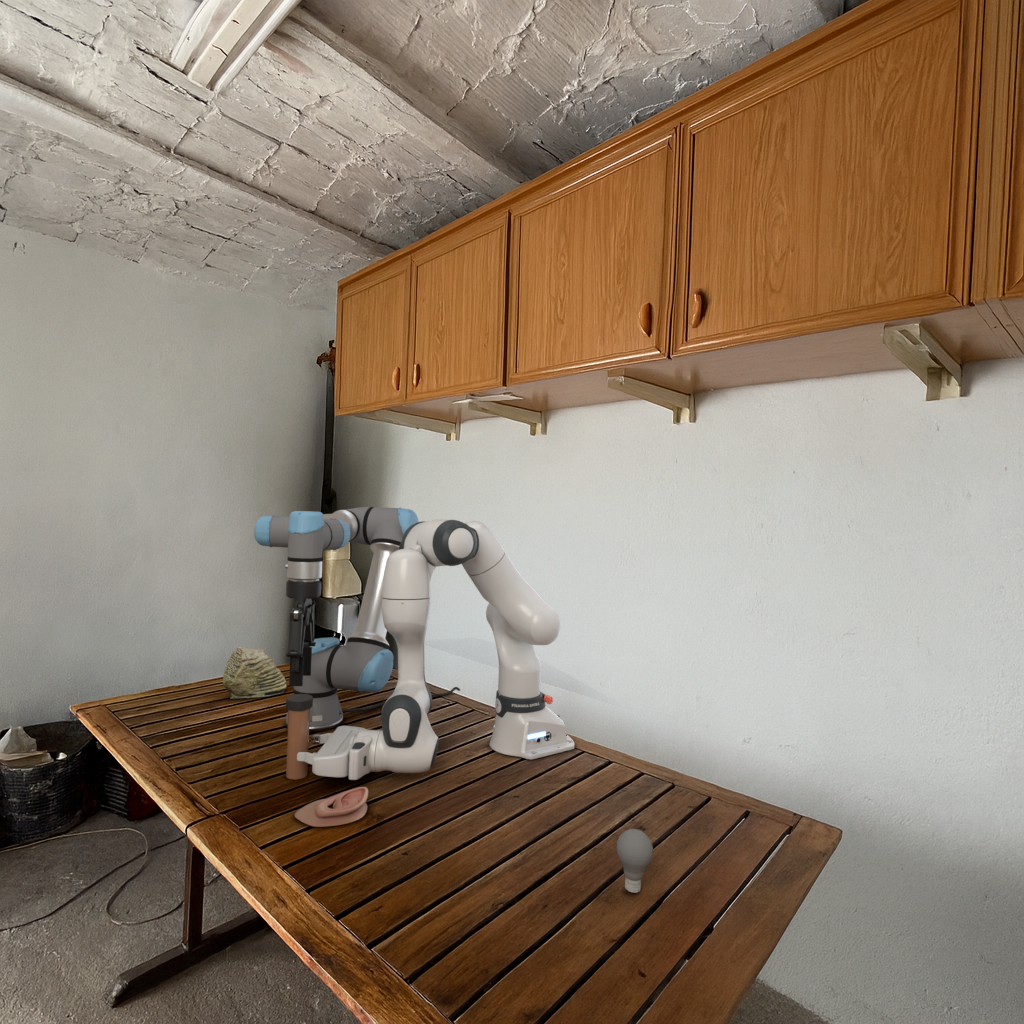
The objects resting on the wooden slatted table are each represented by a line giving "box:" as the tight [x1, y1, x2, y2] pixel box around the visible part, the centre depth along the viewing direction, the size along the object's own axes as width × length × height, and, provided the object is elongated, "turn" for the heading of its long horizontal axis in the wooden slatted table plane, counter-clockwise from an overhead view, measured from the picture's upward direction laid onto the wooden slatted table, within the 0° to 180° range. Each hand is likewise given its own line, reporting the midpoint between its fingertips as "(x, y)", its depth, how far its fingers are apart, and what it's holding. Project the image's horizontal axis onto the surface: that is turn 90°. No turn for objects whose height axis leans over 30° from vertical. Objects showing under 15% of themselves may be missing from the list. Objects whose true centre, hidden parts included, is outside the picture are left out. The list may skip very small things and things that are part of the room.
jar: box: [285, 709, 310, 780], centre depth 143 cm, size 5×5×17 cm
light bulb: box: [615, 828, 654, 894], centre depth 106 cm, size 6×6×10 cm
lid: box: [285, 694, 313, 711], centre depth 143 cm, size 6×6×2 cm
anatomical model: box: [294, 786, 369, 828], centre depth 127 cm, size 13×4×12 cm
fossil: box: [222, 646, 288, 699], centre depth 198 cm, size 9×18×15 cm, turn 132°
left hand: (300, 680), depth 143 cm, fingers open, 7 cm apart
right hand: (305, 747), depth 143 cm, fingers open, 8 cm apart
